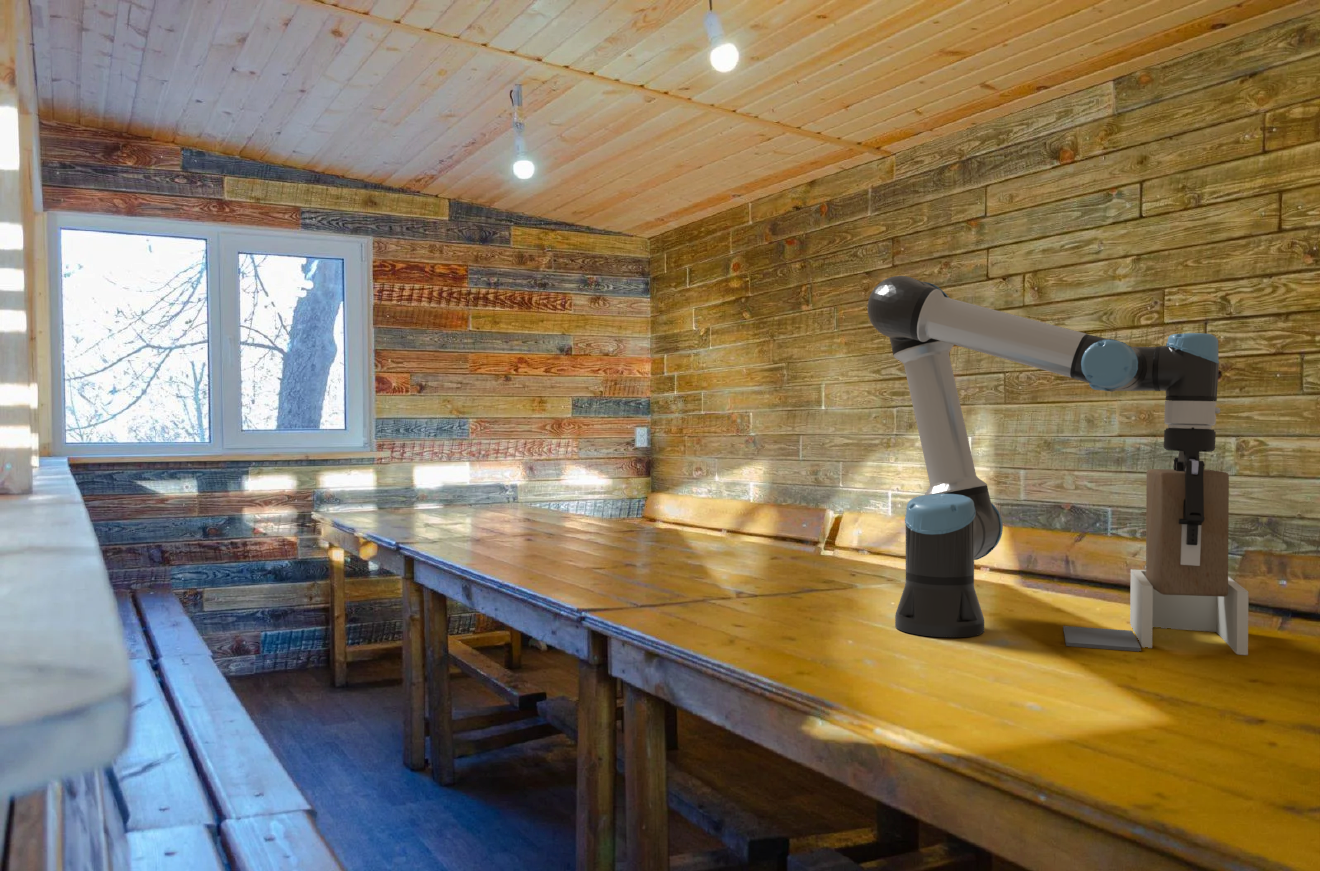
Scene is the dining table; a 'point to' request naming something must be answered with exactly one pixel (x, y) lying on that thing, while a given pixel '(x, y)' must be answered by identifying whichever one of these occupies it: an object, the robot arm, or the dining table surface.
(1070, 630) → the mat
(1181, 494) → the wooden block
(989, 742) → the dining table surface
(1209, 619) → the white u-shaped bracket
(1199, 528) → the robot arm
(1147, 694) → the dining table surface
